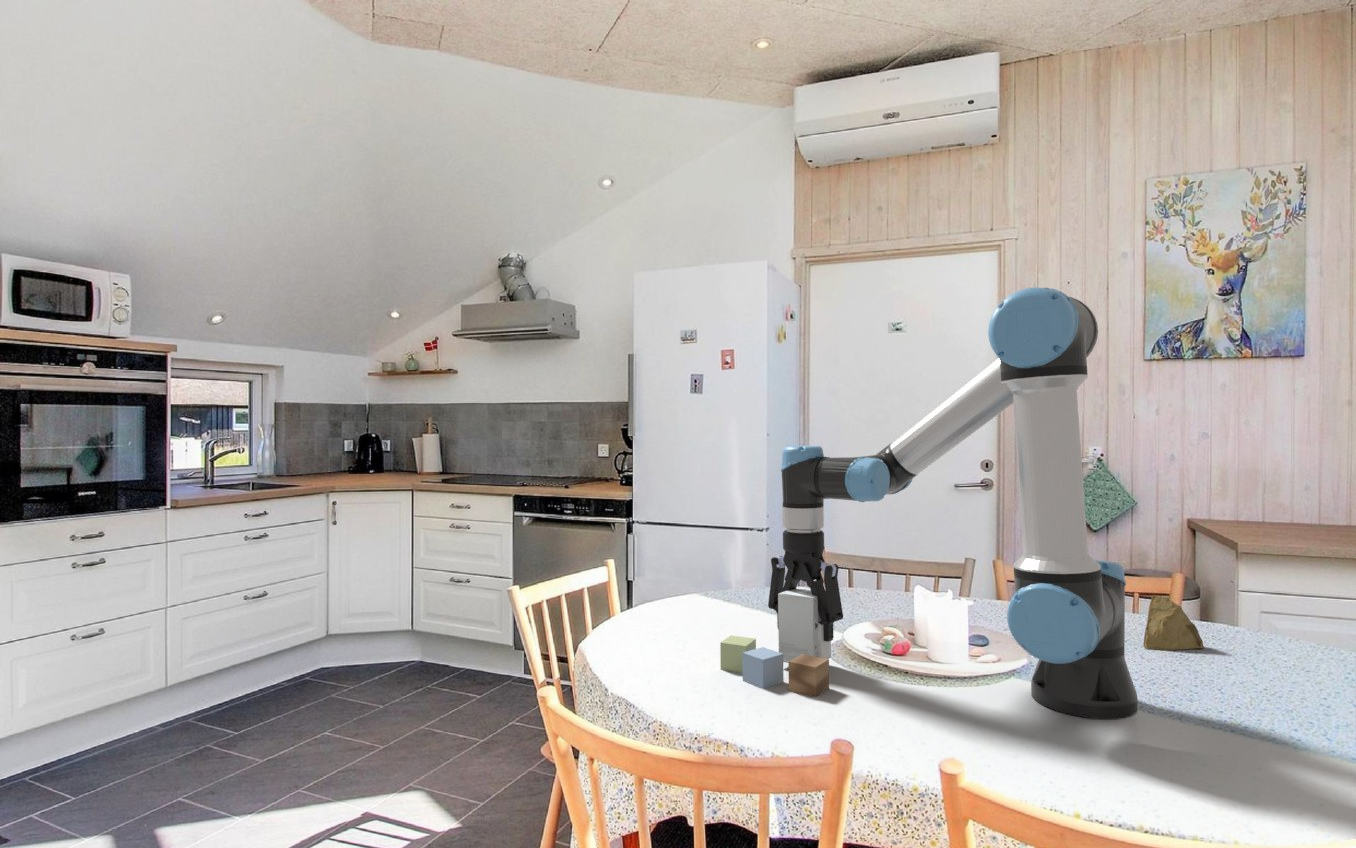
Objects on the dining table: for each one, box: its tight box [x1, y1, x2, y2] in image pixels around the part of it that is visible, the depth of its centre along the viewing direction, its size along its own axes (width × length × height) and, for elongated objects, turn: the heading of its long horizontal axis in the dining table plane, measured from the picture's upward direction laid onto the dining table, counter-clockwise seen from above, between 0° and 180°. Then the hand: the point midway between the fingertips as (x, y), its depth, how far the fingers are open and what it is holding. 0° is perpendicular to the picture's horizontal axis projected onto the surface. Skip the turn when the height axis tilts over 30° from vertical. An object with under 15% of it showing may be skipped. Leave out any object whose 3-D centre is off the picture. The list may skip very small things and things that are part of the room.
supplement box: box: [777, 586, 832, 664], centre depth 142 cm, size 7×7×13 cm
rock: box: [1143, 594, 1205, 651], centre depth 151 cm, size 11×9×10 cm
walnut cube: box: [788, 654, 830, 698], centre depth 130 cm, size 5×5×5 cm
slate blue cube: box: [742, 646, 784, 689], centre depth 134 cm, size 5×5×5 cm
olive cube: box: [719, 635, 757, 674], centre depth 142 cm, size 5×5×5 cm
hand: (805, 653), depth 142 cm, fingers closed on supplement box, 8 cm apart
